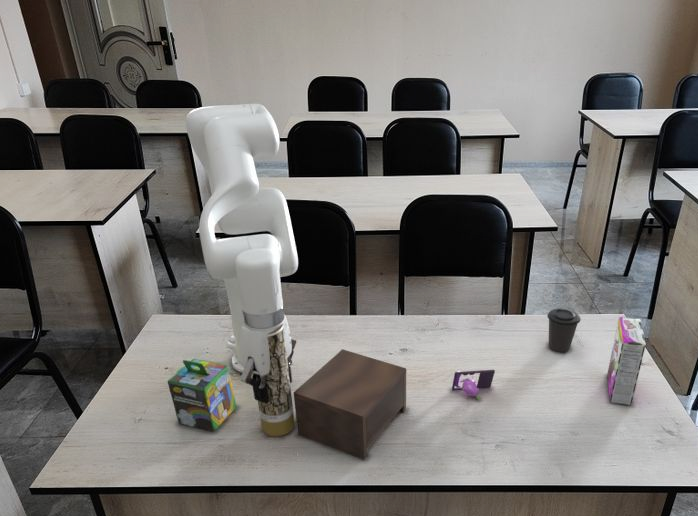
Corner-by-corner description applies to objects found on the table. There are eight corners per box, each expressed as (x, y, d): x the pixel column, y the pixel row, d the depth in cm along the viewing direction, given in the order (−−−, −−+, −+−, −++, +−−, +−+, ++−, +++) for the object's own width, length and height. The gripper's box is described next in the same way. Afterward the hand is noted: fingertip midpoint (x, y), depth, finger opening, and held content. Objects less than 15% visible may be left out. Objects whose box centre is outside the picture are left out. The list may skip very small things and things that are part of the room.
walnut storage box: (298, 434, 125) (293, 392, 120) (344, 389, 139) (342, 349, 133) (364, 460, 119) (362, 416, 113) (406, 409, 133) (406, 368, 127)
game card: (493, 366, 135) (454, 369, 134) (498, 386, 132) (458, 388, 131) (489, 383, 140) (451, 386, 140) (493, 402, 137) (454, 405, 136)
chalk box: (237, 407, 133) (227, 351, 125) (213, 433, 126) (201, 375, 118) (202, 399, 136) (190, 343, 128) (176, 424, 128) (162, 366, 121)
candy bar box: (605, 375, 144) (618, 315, 136) (627, 378, 143) (641, 318, 135) (608, 403, 135) (622, 341, 126) (631, 406, 134) (647, 344, 125)
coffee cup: (550, 335, 160) (555, 302, 154) (580, 345, 156) (586, 311, 150) (537, 349, 154) (542, 314, 149) (567, 359, 150) (573, 324, 145)
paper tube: (288, 440, 124) (275, 336, 111) (257, 435, 125) (240, 332, 112) (299, 419, 130) (288, 318, 117) (269, 415, 131) (255, 315, 118)
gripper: (276, 291, 121) (285, 364, 130) (216, 330, 108) (230, 409, 117) (307, 299, 118) (313, 374, 128) (249, 341, 105) (261, 420, 114)
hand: (273, 390), depth 122 cm, fingers closed on paper tube, 6 cm apart
